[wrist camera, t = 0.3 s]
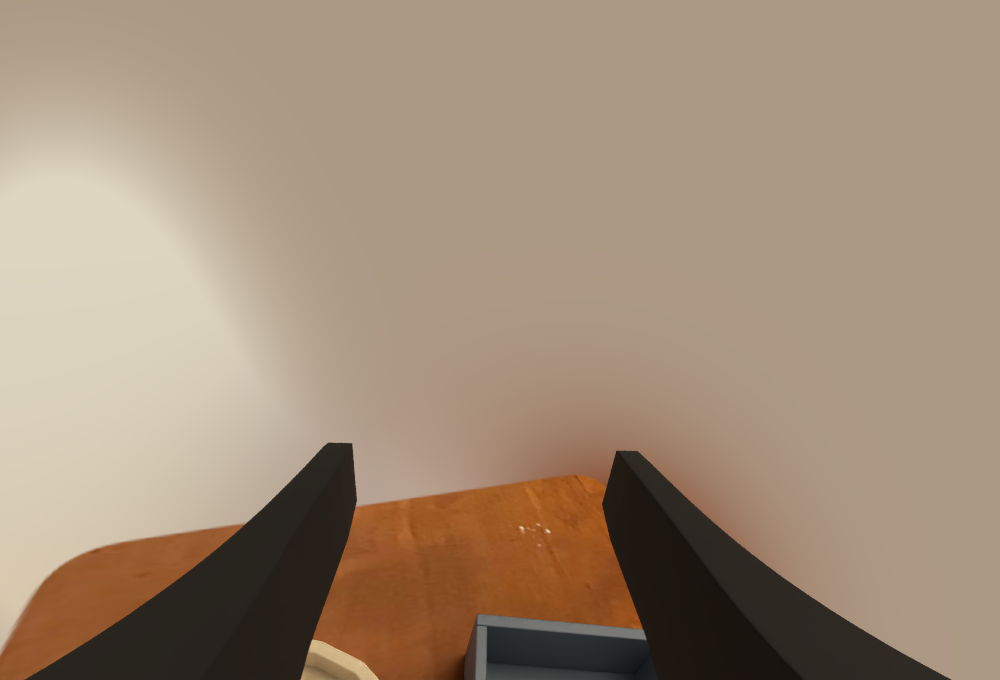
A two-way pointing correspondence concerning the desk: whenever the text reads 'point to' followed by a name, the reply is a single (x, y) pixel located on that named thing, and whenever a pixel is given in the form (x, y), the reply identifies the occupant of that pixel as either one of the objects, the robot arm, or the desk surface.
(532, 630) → the bin
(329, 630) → the desk surface
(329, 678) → the bowl
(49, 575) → the desk surface
